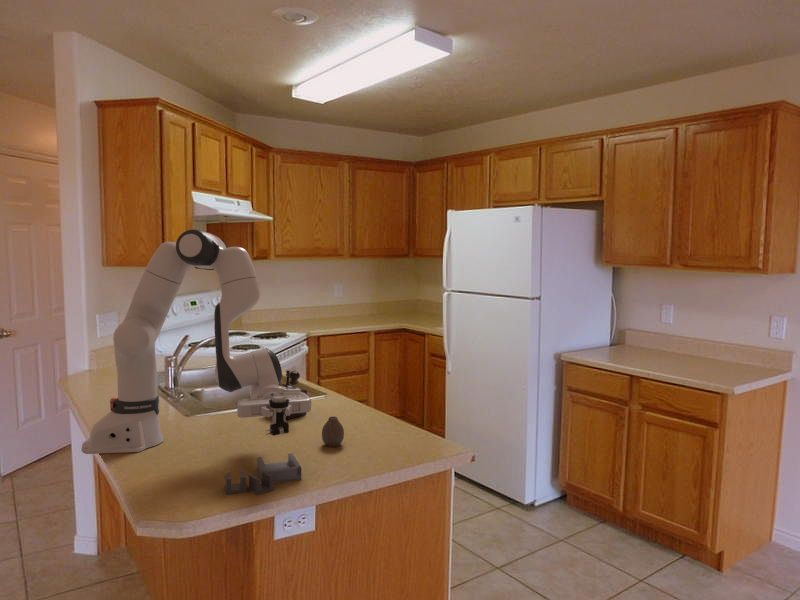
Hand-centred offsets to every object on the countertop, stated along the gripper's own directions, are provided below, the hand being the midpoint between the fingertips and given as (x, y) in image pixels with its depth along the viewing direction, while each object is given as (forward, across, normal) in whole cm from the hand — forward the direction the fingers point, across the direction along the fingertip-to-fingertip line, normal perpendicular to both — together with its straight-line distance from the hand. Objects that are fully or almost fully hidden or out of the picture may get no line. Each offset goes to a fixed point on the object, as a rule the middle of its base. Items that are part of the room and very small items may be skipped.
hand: (279, 413), depth 154 cm
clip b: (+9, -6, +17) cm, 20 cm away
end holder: (0, 0, +17) cm, 17 cm away
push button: (-1, 0, +6) cm, 6 cm away
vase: (-18, +20, +17) cm, 32 cm away
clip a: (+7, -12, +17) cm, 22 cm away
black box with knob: (-53, +14, +17) cm, 58 cm away
